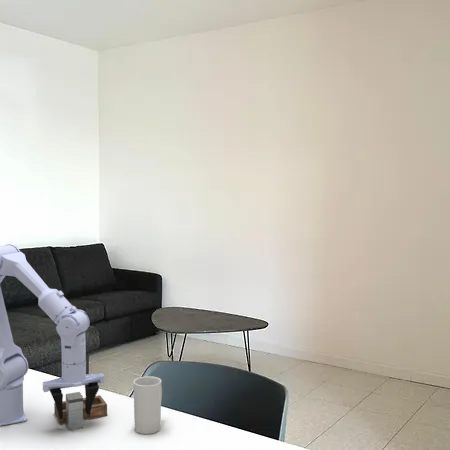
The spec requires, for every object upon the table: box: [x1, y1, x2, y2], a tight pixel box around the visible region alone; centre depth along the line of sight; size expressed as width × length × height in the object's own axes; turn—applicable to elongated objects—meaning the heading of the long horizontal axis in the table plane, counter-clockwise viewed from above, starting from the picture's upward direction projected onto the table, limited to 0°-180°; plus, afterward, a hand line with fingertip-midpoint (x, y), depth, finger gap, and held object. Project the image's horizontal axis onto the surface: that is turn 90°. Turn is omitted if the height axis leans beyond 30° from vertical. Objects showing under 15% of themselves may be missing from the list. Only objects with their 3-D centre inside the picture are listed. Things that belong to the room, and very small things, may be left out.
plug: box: [65, 391, 84, 431], centre depth 139 cm, size 3×3×8 cm
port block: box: [53, 394, 108, 425], centre depth 146 cm, size 12×7×3 cm, turn 117°
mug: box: [133, 376, 163, 435], centre depth 140 cm, size 10×7×12 cm, turn 156°
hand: (74, 415), depth 139 cm, fingers open, 6 cm apart
